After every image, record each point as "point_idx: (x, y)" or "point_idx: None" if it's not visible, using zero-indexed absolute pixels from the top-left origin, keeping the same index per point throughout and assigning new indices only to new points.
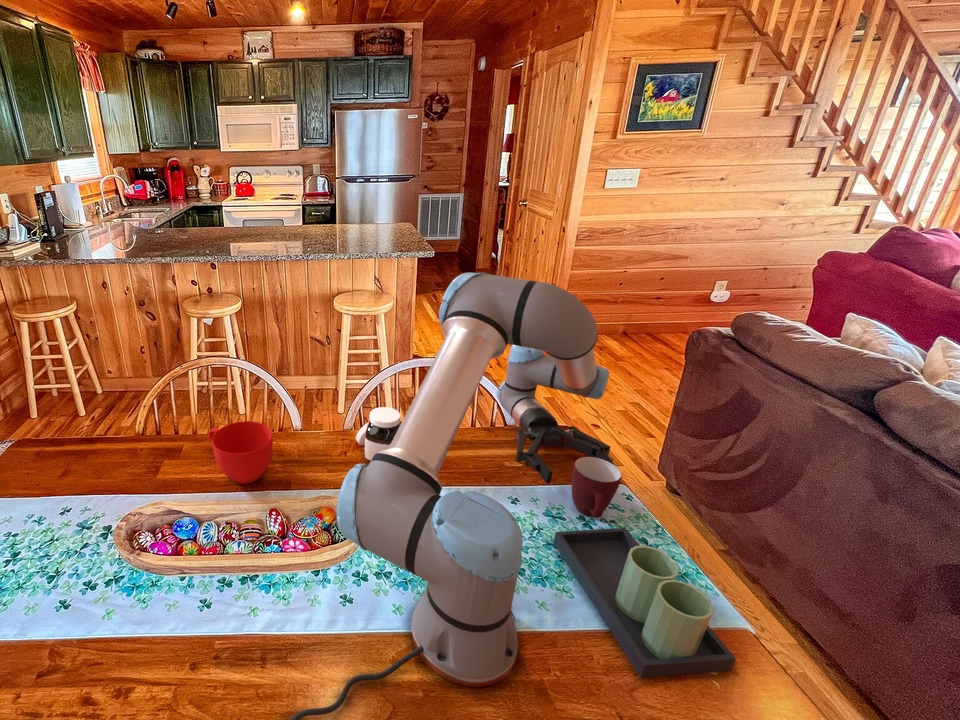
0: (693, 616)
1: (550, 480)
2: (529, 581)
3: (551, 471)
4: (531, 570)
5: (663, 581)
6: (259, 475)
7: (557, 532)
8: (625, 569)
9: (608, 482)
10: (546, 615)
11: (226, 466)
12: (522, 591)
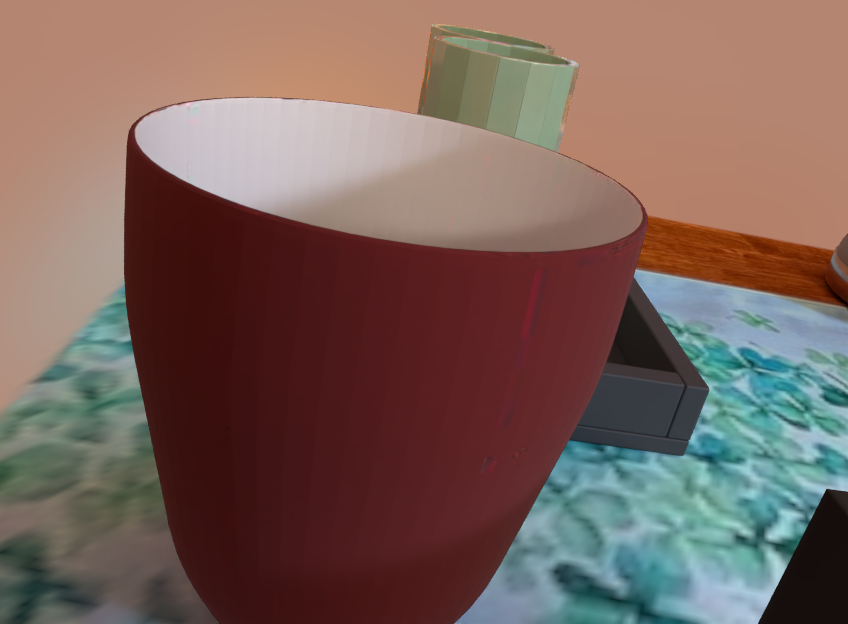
0: (503, 35)
1: (778, 590)
2: (801, 368)
3: (839, 505)
4: (795, 391)
5: (517, 45)
6: None
7: (701, 384)
8: (562, 125)
9: (411, 114)
10: (744, 305)
11: None
12: (823, 354)
